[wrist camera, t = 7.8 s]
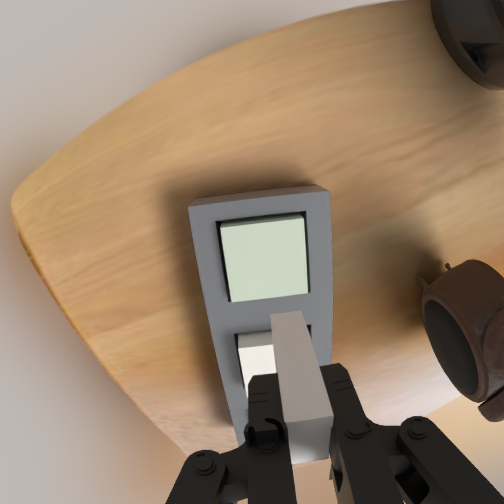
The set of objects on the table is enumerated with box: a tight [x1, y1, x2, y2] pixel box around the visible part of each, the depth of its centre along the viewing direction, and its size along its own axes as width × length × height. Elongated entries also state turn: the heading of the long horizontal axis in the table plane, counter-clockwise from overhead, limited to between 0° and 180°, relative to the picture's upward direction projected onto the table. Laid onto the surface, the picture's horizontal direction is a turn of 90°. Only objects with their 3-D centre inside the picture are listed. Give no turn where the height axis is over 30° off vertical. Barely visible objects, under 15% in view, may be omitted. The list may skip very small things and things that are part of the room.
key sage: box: [220, 212, 308, 302], centre depth 26 cm, size 6×6×3 cm
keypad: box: [188, 185, 333, 446], centre depth 31 cm, size 11×31×4 cm, turn 6°
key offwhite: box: [238, 325, 311, 398], centre depth 28 cm, size 6×6×3 cm
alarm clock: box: [417, 259, 504, 422], centre depth 23 cm, size 15×7×20 cm, turn 28°
